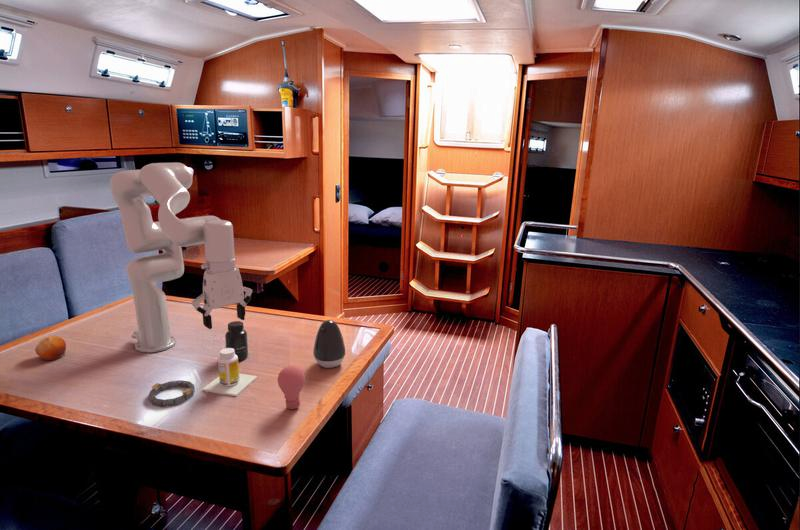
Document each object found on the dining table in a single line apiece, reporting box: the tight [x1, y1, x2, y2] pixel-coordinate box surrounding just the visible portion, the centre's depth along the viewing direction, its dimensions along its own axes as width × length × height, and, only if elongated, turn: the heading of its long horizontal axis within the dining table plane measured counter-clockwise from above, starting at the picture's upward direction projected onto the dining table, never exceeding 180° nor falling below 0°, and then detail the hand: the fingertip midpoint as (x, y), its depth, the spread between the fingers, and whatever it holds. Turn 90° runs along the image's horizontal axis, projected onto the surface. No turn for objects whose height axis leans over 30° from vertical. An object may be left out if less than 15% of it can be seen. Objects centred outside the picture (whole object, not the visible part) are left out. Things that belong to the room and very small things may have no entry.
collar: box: [147, 379, 196, 408], centre depth 131 cm, size 11×11×2 cm
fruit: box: [34, 335, 67, 361], centre depth 152 cm, size 8×8×8 cm
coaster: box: [202, 372, 258, 397], centre depth 138 cm, size 11×11×1 cm
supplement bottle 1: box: [224, 320, 249, 362], centre depth 154 cm, size 7×7×12 cm
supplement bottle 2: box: [217, 347, 240, 386], centre depth 137 cm, size 6×6×10 cm
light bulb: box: [277, 365, 306, 410], centre depth 126 cm, size 7×7×12 cm
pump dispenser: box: [313, 319, 346, 369], centre depth 150 cm, size 10×10×15 cm
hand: (225, 323), depth 133 cm, fingers open, 9 cm apart
